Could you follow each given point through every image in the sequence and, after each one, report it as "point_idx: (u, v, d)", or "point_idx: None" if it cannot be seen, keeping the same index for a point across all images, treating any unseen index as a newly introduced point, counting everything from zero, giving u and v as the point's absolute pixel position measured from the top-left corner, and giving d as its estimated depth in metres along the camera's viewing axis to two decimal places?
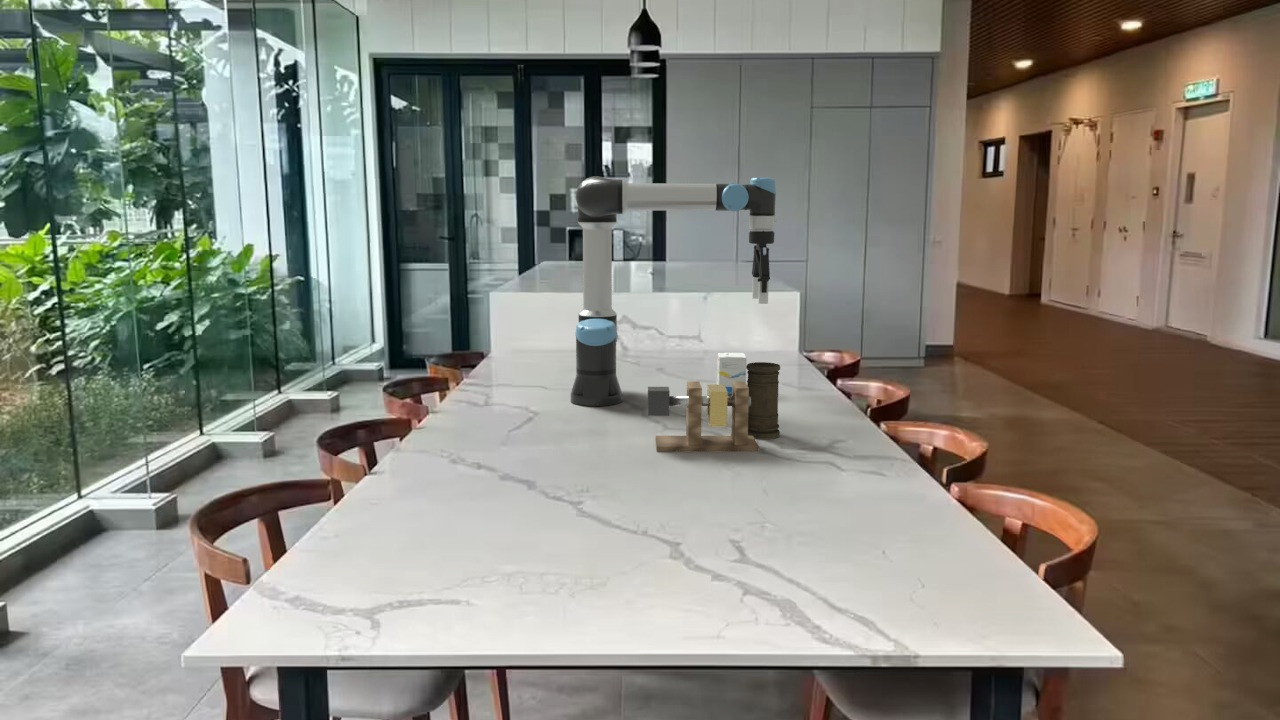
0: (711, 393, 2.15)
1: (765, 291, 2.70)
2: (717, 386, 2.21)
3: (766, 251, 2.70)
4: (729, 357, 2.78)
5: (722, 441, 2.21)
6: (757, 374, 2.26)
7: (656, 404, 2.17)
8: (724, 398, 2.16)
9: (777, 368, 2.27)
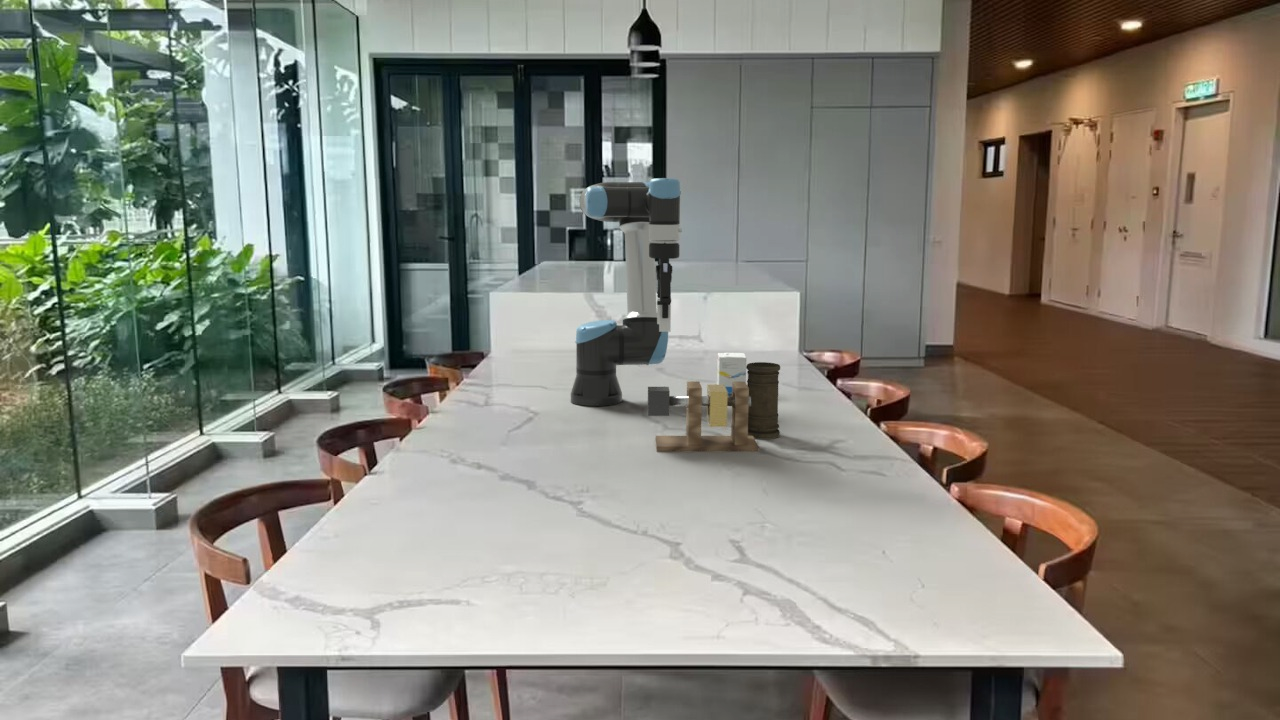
0: (711, 393, 2.15)
1: (666, 316, 2.22)
2: (717, 386, 2.21)
3: (667, 268, 2.21)
4: (729, 357, 2.78)
5: (722, 441, 2.21)
6: (757, 374, 2.26)
7: (656, 404, 2.17)
8: (724, 398, 2.16)
9: (777, 368, 2.27)
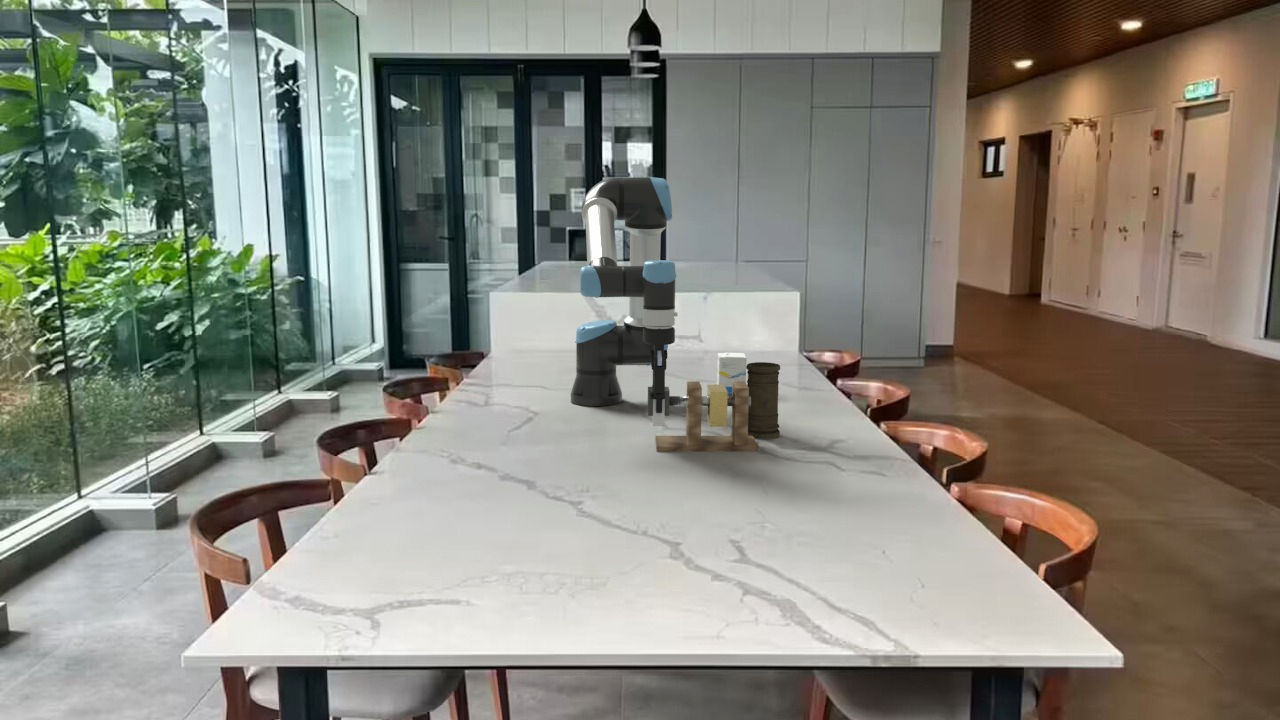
0: (711, 393, 2.15)
1: (660, 411, 2.16)
2: (717, 386, 2.21)
3: (662, 363, 2.12)
4: (729, 357, 2.78)
5: (722, 441, 2.21)
6: (757, 374, 2.26)
7: None
8: (724, 398, 2.16)
9: (777, 368, 2.27)
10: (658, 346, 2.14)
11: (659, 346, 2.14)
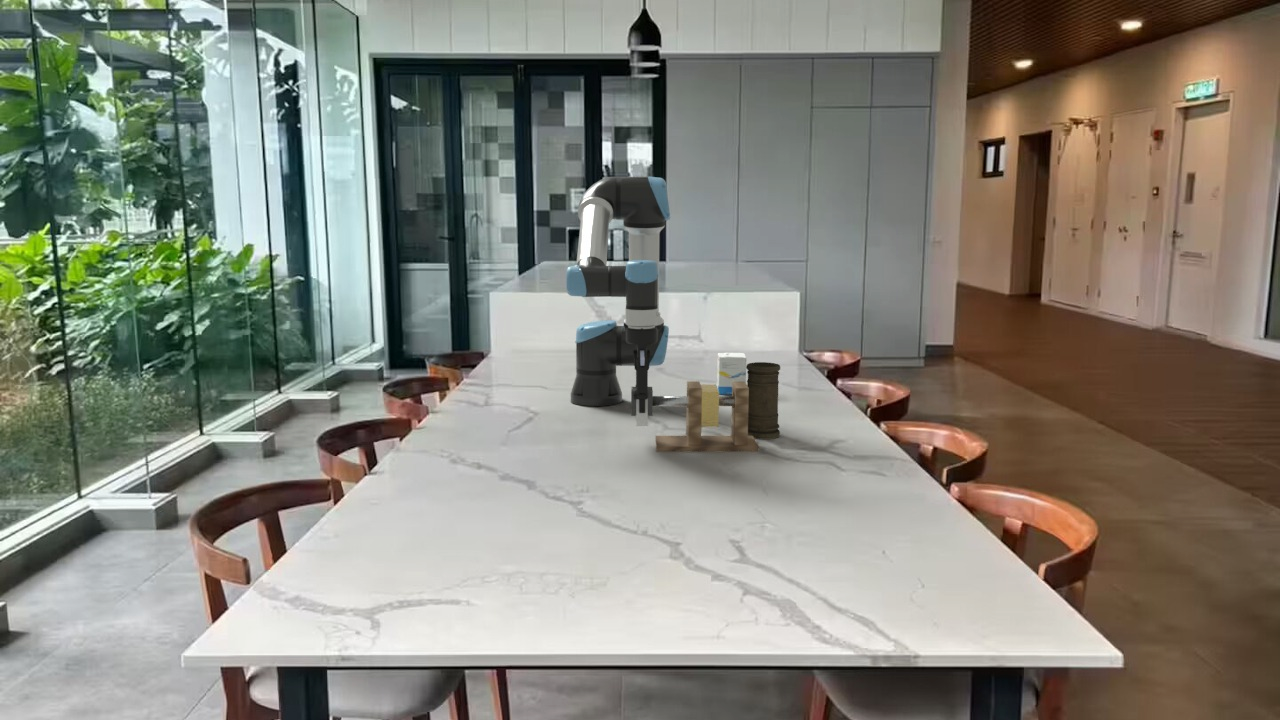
0: (702, 393, 2.15)
1: (643, 411, 2.16)
2: (709, 386, 2.21)
3: (644, 363, 2.12)
4: (729, 357, 2.78)
5: (722, 441, 2.21)
6: (757, 374, 2.26)
7: None
8: (715, 398, 2.16)
9: (777, 368, 2.27)
10: (641, 346, 2.14)
11: (642, 346, 2.14)
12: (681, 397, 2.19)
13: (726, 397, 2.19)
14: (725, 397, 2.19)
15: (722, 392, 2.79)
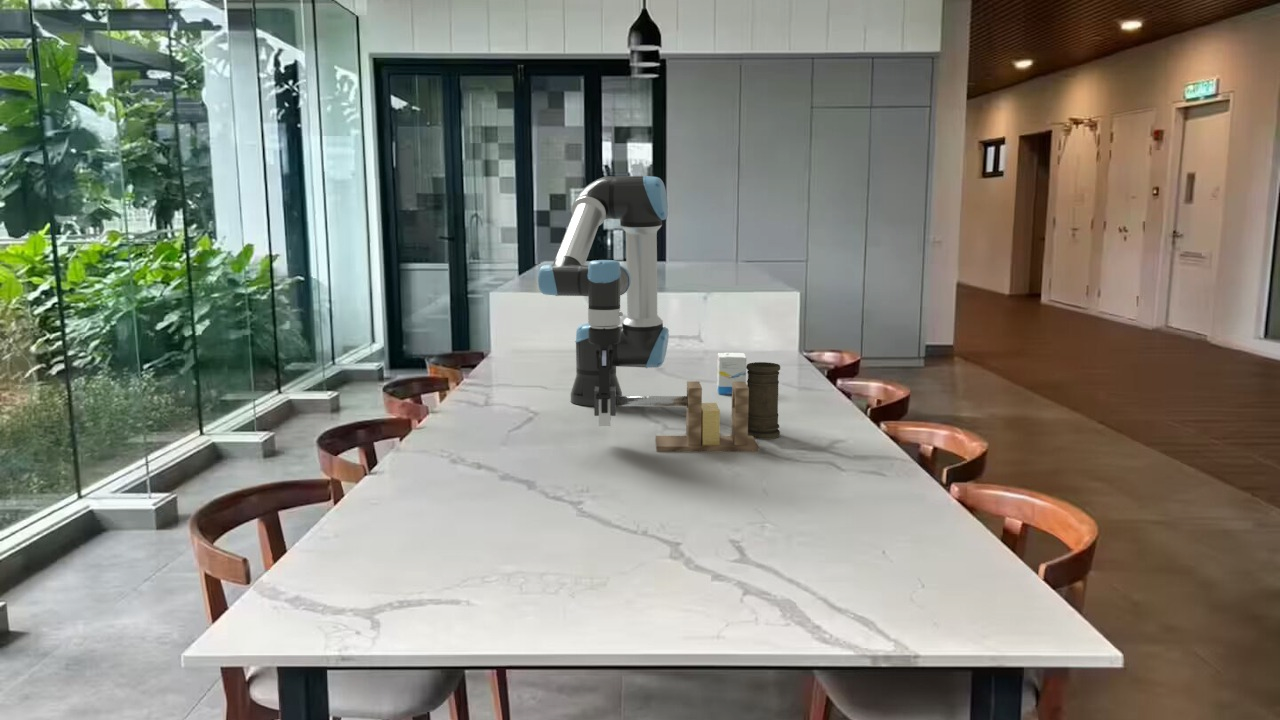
0: (703, 412, 2.16)
1: (606, 411, 2.16)
2: (709, 405, 2.22)
3: (606, 363, 2.12)
4: (729, 357, 2.78)
5: (722, 441, 2.21)
6: (757, 374, 2.26)
7: None
8: (716, 417, 2.16)
9: (777, 368, 2.27)
10: (603, 346, 2.14)
11: (604, 346, 2.14)
12: (644, 397, 2.19)
13: None
14: None
15: (722, 392, 2.79)
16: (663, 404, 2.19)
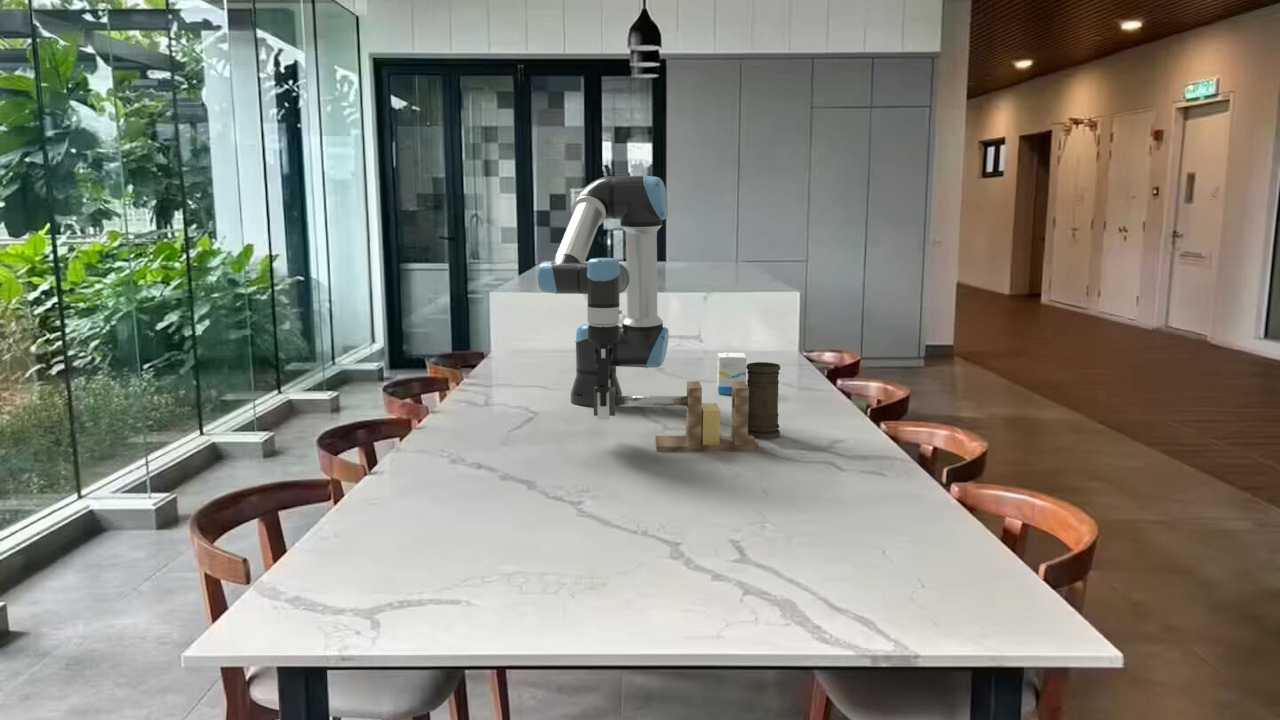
0: (704, 412, 2.16)
1: (604, 405, 2.12)
2: (710, 405, 2.22)
3: (605, 354, 2.11)
4: (729, 357, 2.78)
5: (722, 441, 2.21)
6: (757, 374, 2.26)
7: None
8: (717, 417, 2.16)
9: (777, 368, 2.27)
10: None
11: None
12: (644, 397, 2.19)
13: None
14: None
15: (722, 392, 2.79)
16: (663, 404, 2.19)
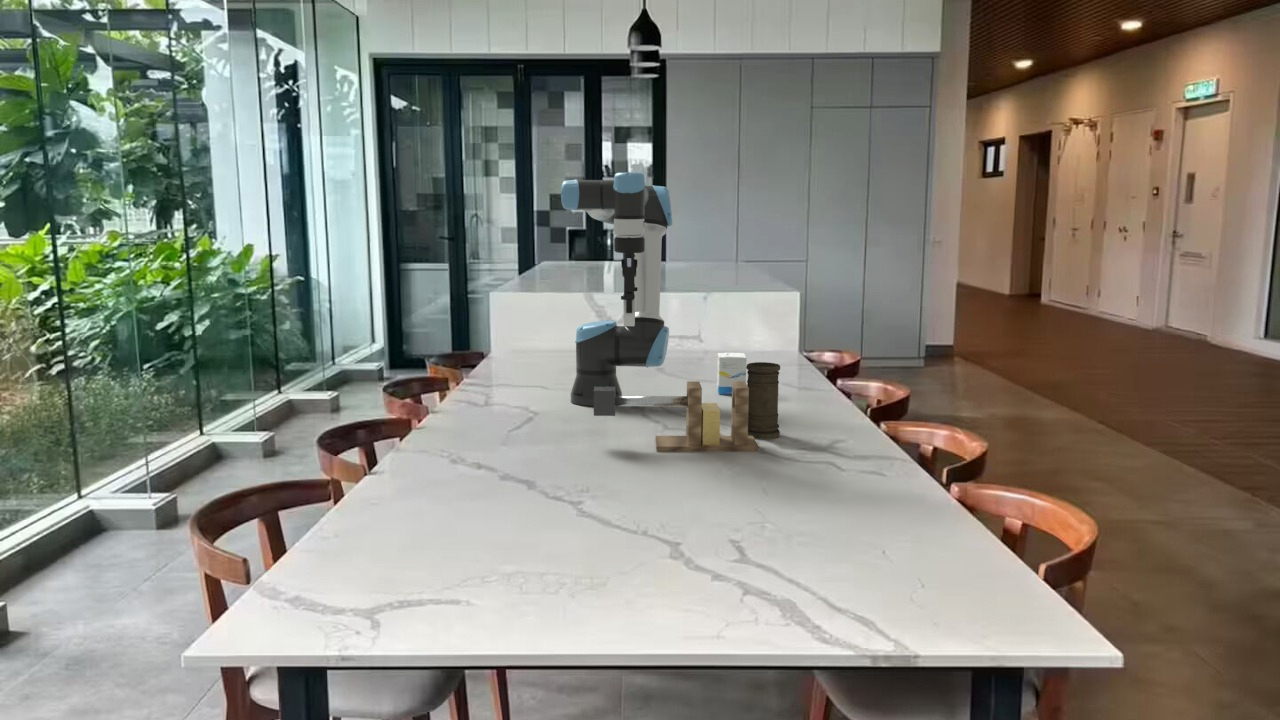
0: (704, 412, 2.16)
1: (630, 311, 2.22)
2: (710, 405, 2.22)
3: (631, 263, 2.21)
4: (729, 357, 2.78)
5: (722, 441, 2.21)
6: (757, 374, 2.26)
7: (602, 404, 2.17)
8: (717, 417, 2.16)
9: (777, 368, 2.27)
10: None
11: None
12: (644, 397, 2.19)
13: None
14: None
15: (722, 392, 2.79)
16: (663, 404, 2.19)
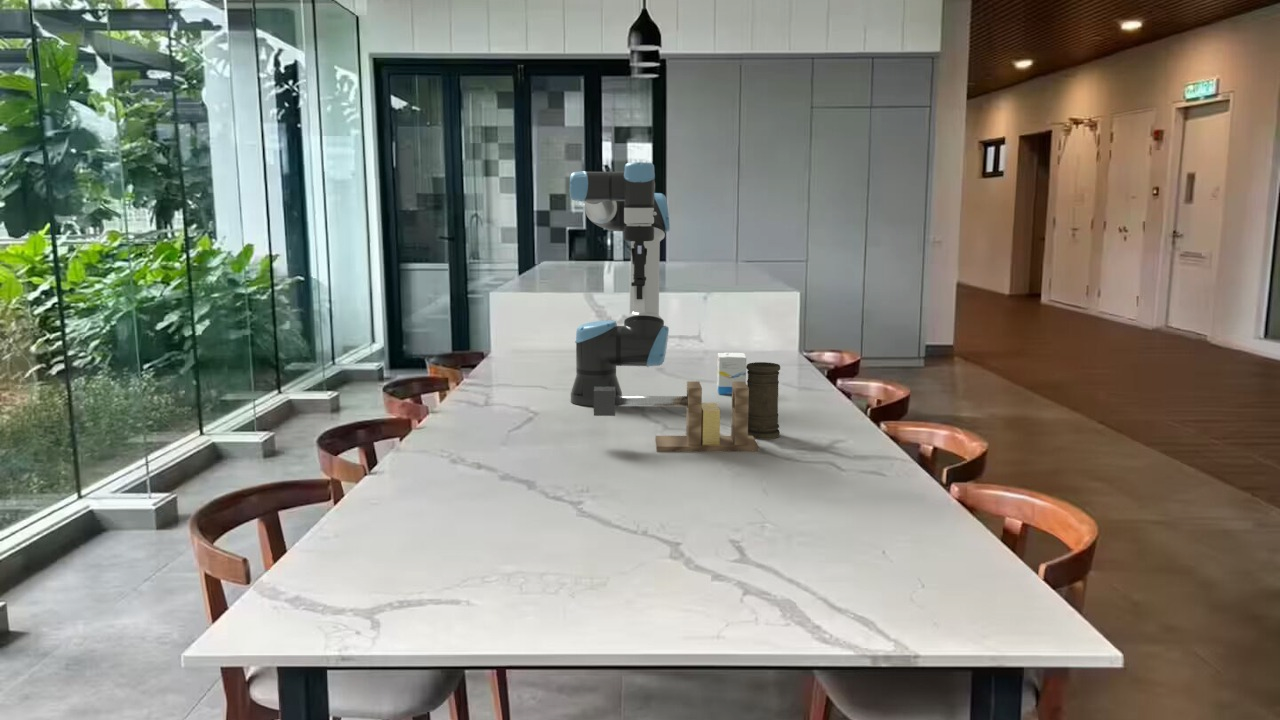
0: (704, 412, 2.16)
1: (640, 297, 2.27)
2: (710, 405, 2.22)
3: (641, 250, 2.26)
4: (729, 357, 2.78)
5: (722, 441, 2.21)
6: (757, 374, 2.26)
7: (602, 404, 2.17)
8: (717, 417, 2.16)
9: (777, 368, 2.27)
10: None
11: None
12: (644, 397, 2.19)
13: None
14: None
15: (722, 392, 2.79)
16: (663, 404, 2.19)
